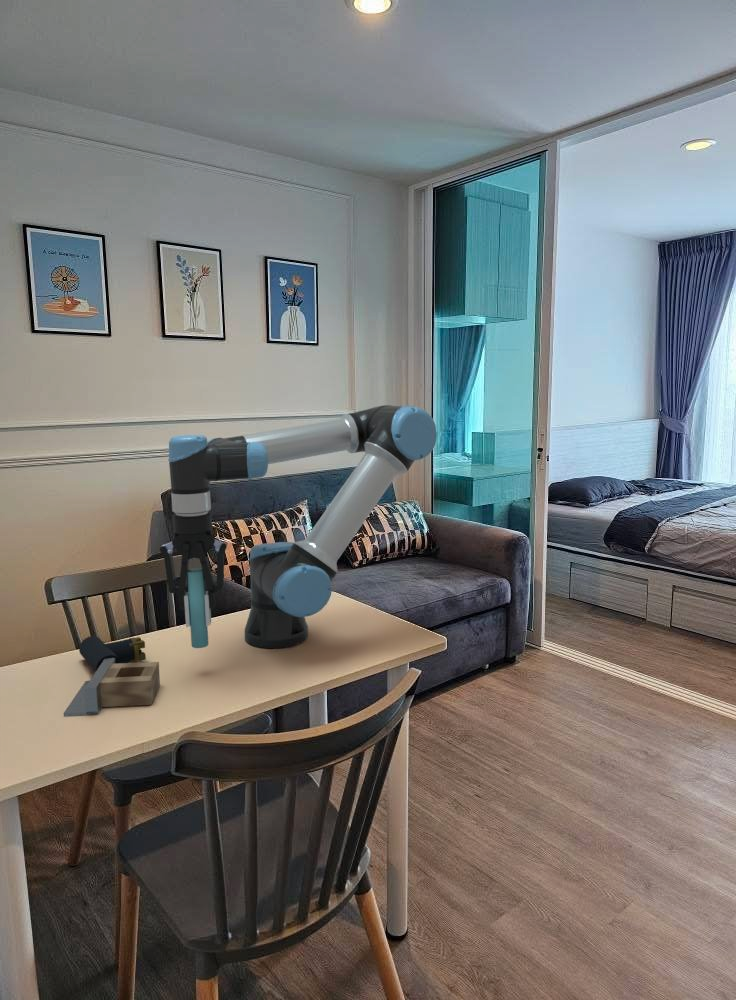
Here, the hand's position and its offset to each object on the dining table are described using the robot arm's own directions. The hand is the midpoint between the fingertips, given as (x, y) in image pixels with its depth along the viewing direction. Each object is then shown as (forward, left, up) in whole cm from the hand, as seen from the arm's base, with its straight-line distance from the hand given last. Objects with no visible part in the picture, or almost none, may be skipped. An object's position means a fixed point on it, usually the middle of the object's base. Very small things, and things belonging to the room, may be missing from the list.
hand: (198, 623), depth 141 cm
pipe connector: (+19, -6, -11) cm, 22 cm away
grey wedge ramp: (+20, +9, -11) cm, 24 cm away
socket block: (+12, +9, -11) cm, 19 cm away
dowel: (0, 0, -5) cm, 5 cm away
